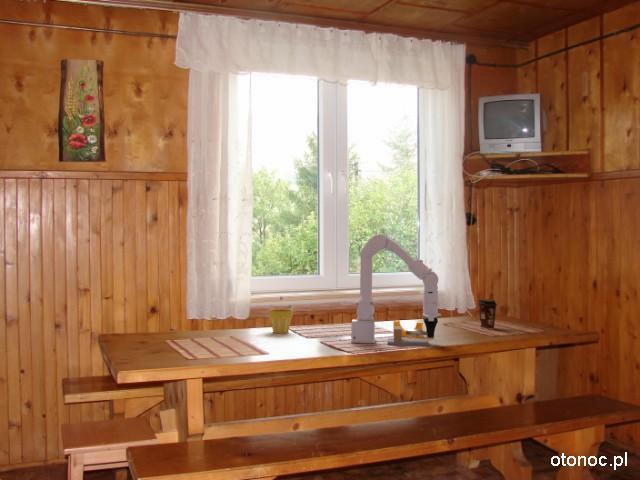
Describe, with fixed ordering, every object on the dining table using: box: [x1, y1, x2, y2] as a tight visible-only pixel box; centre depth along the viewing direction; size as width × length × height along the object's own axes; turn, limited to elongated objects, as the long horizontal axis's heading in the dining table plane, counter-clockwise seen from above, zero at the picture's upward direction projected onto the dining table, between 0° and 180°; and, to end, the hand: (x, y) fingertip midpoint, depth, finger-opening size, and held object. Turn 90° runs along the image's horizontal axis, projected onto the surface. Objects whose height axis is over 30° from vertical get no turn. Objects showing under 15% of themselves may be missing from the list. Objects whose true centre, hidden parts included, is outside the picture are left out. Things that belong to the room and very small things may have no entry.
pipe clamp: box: [392, 320, 425, 339], centre depth 290 cm, size 12×4×6 cm, turn 66°
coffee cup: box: [478, 298, 498, 330], centre depth 313 cm, size 9×8×13 cm
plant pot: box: [268, 308, 294, 334], centre depth 298 cm, size 10×10×10 cm
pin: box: [405, 329, 435, 340], centre depth 271 cm, size 11×3×4 cm, turn 83°
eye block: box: [386, 325, 430, 347], centre depth 272 cm, size 16×8×6 cm, turn 83°
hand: (430, 336), depth 270 cm, fingers closed on pin, 3 cm apart
